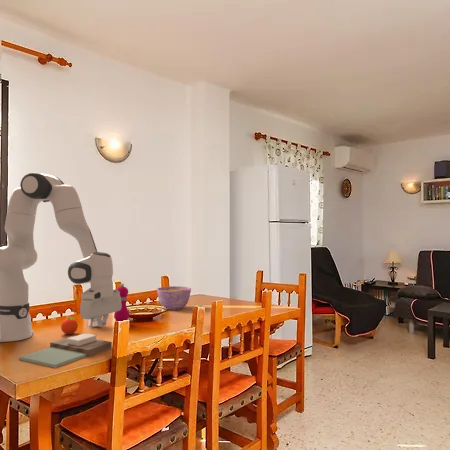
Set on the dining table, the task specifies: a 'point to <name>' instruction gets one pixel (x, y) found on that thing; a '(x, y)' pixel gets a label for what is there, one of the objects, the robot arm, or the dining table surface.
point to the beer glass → (92, 322)
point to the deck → (83, 346)
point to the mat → (52, 357)
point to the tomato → (69, 326)
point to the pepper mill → (124, 312)
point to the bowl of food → (173, 296)
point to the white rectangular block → (81, 339)
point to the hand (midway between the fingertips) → (102, 325)
